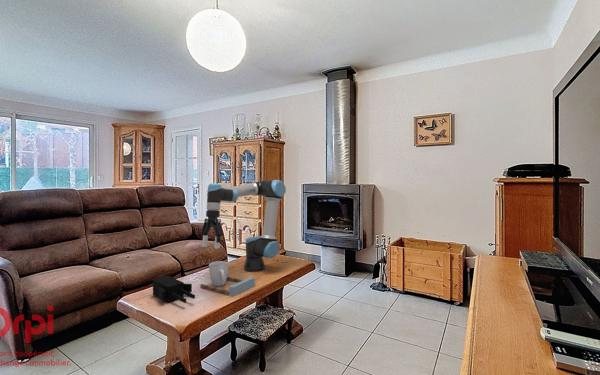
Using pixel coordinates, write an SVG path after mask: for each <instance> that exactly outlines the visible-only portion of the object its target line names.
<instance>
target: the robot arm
mask: <svg viewBox="0 0 600 375" xmlns="http://www.w3.org/2000/svg"><path fill="white" fill-rule="evenodd" d="M286 190H287V188H286V184H285V183H284V181H282V180H279V179H264V180H263V179H262V180H260V181H255V182H251V183H250V184H243V185H237V186H229V187H222V184H221V183H214V182H213V183H209V184H208V186H207V190H206V191H207V193H206V196H207V200H206V211H205V218H204V222H203V225H202V228H201V231H200V234H201V235H202V246H201V247H202V248H204V247H206V248H207V247H208V242H209V240H208V239H209V235H208V234H209V232H210V230H211V228H212V229H213V230H214V234H215V237H214V238H215V239H214V249H216V250H217V249H220V246H221V237H223V236H224V232H223V226H222V219H221V218H219V217H220V216H221V215H220V214H221V212H220V210H221V202H229V203H235V202H237V201H238V199H239V198H241V197H248V196H253V197H257V196H260V197H261V196H263V197H264V200H266V201H265V202H266V204H265V211H264V220H263V228H262V229H263V231H262V235H260V236H259V235H258V236H257V235H256V236H250V237H247V238H246V239H245V261H244V264H243V271H245V272H250V273H252V272H254V273H255V272H260V271H264V270H265V269H266V264H265V261H264V258H266V259H273V258H275V257H276V256H277V255H278V254H279V250H280V244H279V242H278V241H277V239H278V238H277V237H276V230H277V223H278V222H277V220H278V212H279V202H280V201H281V200H282V197H284V196H285V194H286ZM206 217H207V218H206Z"/></svg>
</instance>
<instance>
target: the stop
mask: <svg viewBox="0 0 600 375" xmlns="http://www.w3.org/2000/svg"><path fill="white" fill-rule="evenodd" d="M242 280H243V281H241V282H238V283H236V282H235V283H234V284H232V285H229V286H228V291H229V295H228V296H230V297H235V296H237V295H239V294H242V293H245V291H247V290H250V289H252V288H254V287H255V286H256V278H255V277H252V276H250V277H247V278H245V279H242Z"/></svg>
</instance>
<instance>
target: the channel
mask: <svg viewBox="0 0 600 375" xmlns="http://www.w3.org/2000/svg"><path fill="white" fill-rule="evenodd" d="M243 280H244V279H240V278H236V277H231V276H228V275H227V279H226V282H227V281H228V282H231V283H235V284H236V283H238V282H241V281H243ZM199 287H200V289H203V290H206V291H210V292H212V293H213V292H214V293H217V294H221V295H225V296H229V289H228V290H227V289H223V288H219V287H217V286H212V285H209V284H204V283H201V284H200V286H199Z"/></svg>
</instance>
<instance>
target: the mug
mask: <svg viewBox="0 0 600 375" xmlns="http://www.w3.org/2000/svg"><path fill="white" fill-rule="evenodd" d="M228 265H229V264H228V262H227V261H224V260H218V261H213V262H210V263H209V264H208V270H209V271H208V272H209V279H210V282H211V284H212V285H213V287H222V286H224V285H225V283H226V282H227V280H226V279H227V276H228V275H229V274H228V271H229V270H228V269H229V268H228Z"/></svg>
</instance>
